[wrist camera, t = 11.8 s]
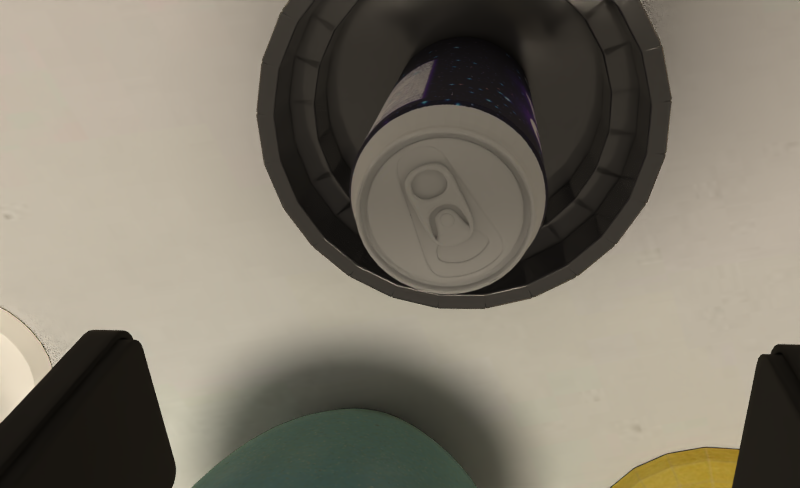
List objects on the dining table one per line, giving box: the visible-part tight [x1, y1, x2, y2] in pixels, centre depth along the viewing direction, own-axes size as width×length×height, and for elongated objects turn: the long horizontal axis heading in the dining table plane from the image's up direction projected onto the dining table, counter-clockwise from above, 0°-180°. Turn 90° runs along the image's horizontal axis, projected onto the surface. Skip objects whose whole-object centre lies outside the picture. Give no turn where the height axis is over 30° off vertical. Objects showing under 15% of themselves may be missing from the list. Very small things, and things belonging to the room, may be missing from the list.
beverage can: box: [349, 37, 548, 294], centre depth 24 cm, size 6×6×12 cm
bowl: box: [256, 0, 672, 309], centre depth 28 cm, size 15×15×5 cm
